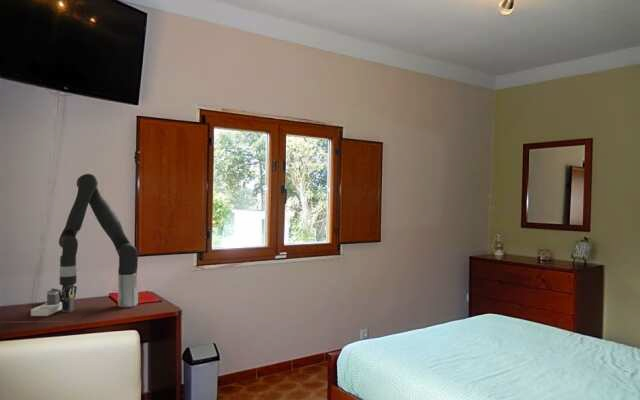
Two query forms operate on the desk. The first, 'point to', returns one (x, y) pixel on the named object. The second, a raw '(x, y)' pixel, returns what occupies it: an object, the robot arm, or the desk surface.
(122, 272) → the robot arm
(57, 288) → the electrical switch
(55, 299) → the twin plug
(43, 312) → the power strip
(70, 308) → the plug
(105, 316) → the desk surface
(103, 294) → the desk surface
